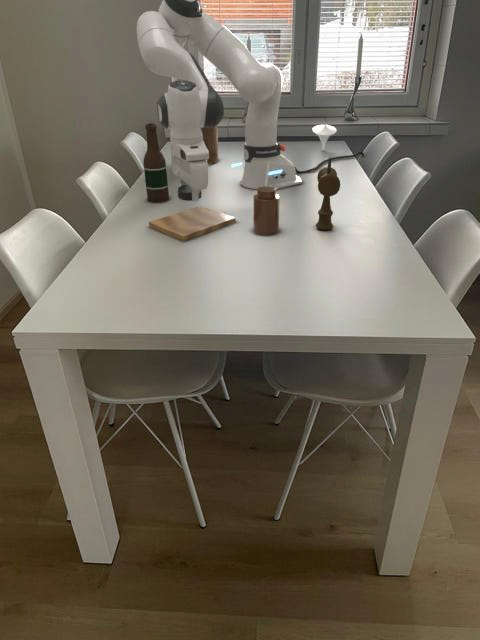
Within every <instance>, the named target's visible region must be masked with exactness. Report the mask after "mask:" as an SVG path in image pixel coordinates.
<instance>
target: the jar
mask: <svg viewBox="0 0 480 640" xmlns="http://www.w3.org/2000/svg"><path fill="white" fill-rule="evenodd" d="M252 202H253V203H252V206H253V207H252V208H253V211H252V212H253V213H252V214H253V215H252V216H253V218H252V219H253V223H252V224H253V225H252V226H253V228H252V229H253V230H252V231H253V232H254V234H257V235H260V236H272V235H276V234H278V233H279V228H280V227H279V225H280V222H279V221H280V194H277V189H276V188H274V187H267V186H266V187H259V188H258V189H256V193H254V195H253V201H252Z"/></svg>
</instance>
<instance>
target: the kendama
mask: <svg viewBox="0 0 480 640" xmlns="http://www.w3.org/2000/svg"><path fill="white" fill-rule="evenodd" d="M331 158H332V157H329V158H328V159H329V160H328V161H327V166H325V167H322V168H321V169H320V170H319V171H318V173H317V178H316V179H317V190H318V192H319V194H320V195H322V196H323V197H322V202H321V206H320V208H319V210H318V211H317V214H318V221H317V222H316V223H315V228H316V229H318V230H321V231H329V230H332V229H334V224H333V222H332V216H333V215H334V211H333V210H332V206H331V197H333V196H335V195H338V192H340V189H341V180H340V178H339V177H338V172H337V171H336V169H335V168H334V167H332V160H331Z"/></svg>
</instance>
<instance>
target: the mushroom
mask: <svg viewBox="0 0 480 640" xmlns="http://www.w3.org/2000/svg"><path fill="white" fill-rule="evenodd" d="M311 130H312V132H313V133H314V134H316V136H318V138H319V141H320V145H321V151H322V152H324V151H325V148H326V145H327V142H328V141H329V138H330V137H331V136H333V135H334V134H336V133H337V132H338V129H337V128H336V127H335V126H333V125H329V124H326V123H325V124H318V125H315V126H313V127H312V128H311Z"/></svg>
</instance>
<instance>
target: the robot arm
mask: <svg viewBox="0 0 480 640" xmlns="http://www.w3.org/2000/svg"><path fill="white" fill-rule="evenodd" d="M136 38H137V45H138V49H139V52H140V55H141V58H142V61H143V63H144V65H145V66H146V68H147V69H148V70H149V71H151V72H152V73H154V74H155V75H158V76H161V77H167V78H172V79H173V78H174V79H178V80H174V81H171V82H170V83H169V84H168V85H167V92H165V93H162V94H161V96H159V98H158V99H157V101H156V108H157V120H158V123H159V124H160V125H161V126H163V127H164V128H165V129H168V130H170V133H169V143H170V154H171V170H172V173H173V175H175V176H176V177H177V178H178V180H179V184H180V186H183V185H189V186H191V190H192V195H191V200H192V201H191V202H193V203H196V202H199V200H200V199H199V192H200V190H201V191H203V190H206V189H208V186H209V165H208V163H207V160H206V159H209V151H208V150H207V148H206V147H205V145H204V142H203V134H202V131H201V128H215V127H216V126H217V127H218V125H219V124H220V123H221V122H222V121H223V119H224V114H225V108H224V102H223V100H222V97H221V95H220V94H219V93H218V92H217V90H215V88H214V87H213V86H212V84H211V82H210V81H209V79H208V76H206V74H205V72H204V70H203V68H202V67H201V65H200V64H199V62H198V60H197V59H196V58H195V56H194V55H193V53H190V52H189V51H188V50H186V49H185V48H184V46H185V44H186V42H187V41H189V42H190V43H191V44H192V46H193V47H194V48H195V49H196V50H197V51H198V52H199V53H200V54H201V55H202V56H203V57H204V58H205V59H206V60H208V62H210V63H211V64H212V65H213V66H214V67H215V68H216V69H218V71H220V72H221V73H222V74H223V75H224V76H225V77H226V78H227V79H228V80H229V82H230V83H231V85H232V86H233V87H234V88H235V89H236V90H237V92H238V94H239V96H240V97H241V99H242V100H243V101H245V102H246V103H248V106H247V113H246V116H245V119H244V120H245V121H244V139H245V140H244V143H243V159H244V160H243V161H244V165H243V161H242V162H238V163H233V164H231V165H230V166H231V168H235V167H238V166H242V165H243V174H242V178H241V182H240V184H241V186H243V187H244V188H247V189H254V190H257V189H258V188H259V187H266V186H267V187H274V188H276V190H281V189H284V188H289V187H291V186H292V187H293V186H297V185H300V184H302V182H303V180H302V179H303V178H301V177H300V176H298V175H297V174H307V173H310V172H314V171H317V169H319V168H320V167H321V166H323V164H325V163H328V160H329V158H326V159H324V160H321V162H319V163H318V164H317V165H316V166H314V167H312V168H309V169H305V170H298V168H297V167H296V166H295V165H294V163H293V162H292V161H291V160H289V159H288V158H287V157H285V156H284V155H283V154H282V153H281V151H282V152H286V150H287V147H286V145H284V144H279V143H278V140H277V139H278V116H279V111H280V105H281V97H282V89H283V88H282V87H283V82H284V76H283V73H282V71H281V70H280V68H278V66H276V65H274V64H273V63H269V62H266V63H265V62H264V63H261V62H259V61H258V60H257V59H256V58H255V57H254V55H253V54H252V53H251V52H250V51H249V49H248V47H247V46H246V44H245V43H244V42H243V41H242V40H240V39H239V38H238V36H236V35H235V34H234V33H232V31H231V30H229V29H228V28H227V27H226V26H225V25H223V24H222V23H221V22H220V21H218V20H217V19H215V18H214V17H213V16H211V15H209V14H208V13H206V12H203V8H202V6H201V4H200V0H162V2H161V4H160V5H159V8H158V11H155V10H148V11H145V12H143V13H142V14H141V15H140V16H139V17H138V19H137V22H136ZM358 155H361V156H364V152H363V151H357V152H356V153H354V154H350V155H340V156H334V157H331V161H334V160H335V161H336V160H340V159H341V160H342V159H351V158H355V157H356V156H358Z"/></svg>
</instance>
